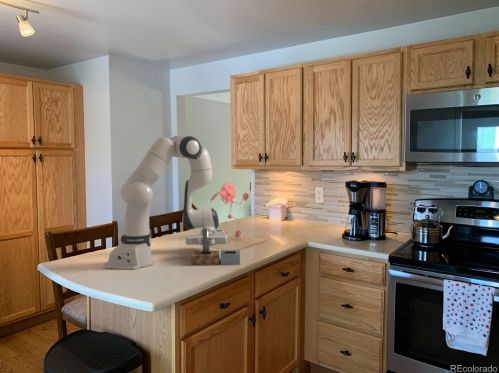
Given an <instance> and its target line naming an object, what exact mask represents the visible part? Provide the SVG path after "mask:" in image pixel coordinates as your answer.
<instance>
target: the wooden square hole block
mask: <svg viewBox="0 0 499 373" xmlns="http://www.w3.org/2000/svg"><path fill="white" fill-rule="evenodd" d="M209 252H210V254H203V250H193V253H192V266H217V265H218V266H219V264H220V250H209Z"/></svg>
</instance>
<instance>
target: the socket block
mask: <svg viewBox="0 0 499 373" xmlns="http://www.w3.org/2000/svg"><path fill="white" fill-rule="evenodd" d="M220 265H221V266H222V265H223V266H224V265H227V266H228V265H241V251H240V250H239V249H230V250H229V249H227V250H224V249H223V250H220Z"/></svg>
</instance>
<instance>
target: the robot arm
mask: <svg viewBox="0 0 499 373" xmlns="http://www.w3.org/2000/svg"><path fill="white" fill-rule="evenodd" d="M173 157H176V158H180V159H187V161H188V162H189V168H190V169H189V170H190V176H189V179H187V180H186V181H185V184H184V197H183V198H184V200H183V212H182V213H183V214H182V217H181V218H182V225H183V227H184V228H186V229H187V230H195V229H200V228H202V229H209V247H211V246H215V245H227V244H228V239H227V236H228V233H227V234H226V230H220V229H218V228H219V223H220V222H219V216H218V212H217V211H216V210H215V209H214V208H212V207H209V208H200V209H193V207H192V205H193V195H194V192H196V191H198V190H200V189H202V188H203V187H205V186H207V185H208V184H209V183H211V180H212V179H213V165H212V160H211V156H210V153H209V151H208V150H207V149H206V148H205V147H203V146H202V144H201V142H200V140H198V138H197V137H194V136H193V135H192V136H191V135H189V136H188V135H176V136H173V137H171V138H168V137H165V136H161V137H159V138H157V140H155V142H153V144H152V146H151V147H150V148H149V150H148V151H147V153H146V154H145V156H144V157H143V159H142V160H141V161H140V164H139V165H138V167H137V168H136V169H135V170H134V171H133V173H132V174H131V175H130V176H129V177H128V179H127V180H126V181H125V183H124V184H123V185H122V186H121V188H120V196H121V198H122V199H123V201H124V202H126V209H125V217H124V234H122V235H121V237H120V239H119V240H120V242H121V243H120V244H118V245H117V246H116V247H115V248H113V249H112V250H111V252H110V253H109V256H108V260H107V261H106V262H104V264H103V268H104V269H111V268H112V269H116V270H117V269H118V270H136V269H140V268H143V267H144V268H146V267H149V266H151V265H153V264H154V263H155V261H154V257H153V254H152V247H151V246H152V245H151V244H152V237H151V233H150V214H151V207H152V206H151V205H152V200H153V197H154V193H153V190H152V188H151V187H153V185H154V184H155V183H156V182H157V181H158V180H159V179H160V178H161V177H162V174H163V173H164V172H165V170H166V168H167V167H168V165H169V163H170V161H171V160H172V159H173ZM202 229H201V231H200V233H199V234H189V235H187V236H186V237H185V244H186V245H187V246H188V245H189V246H191V245H193V246H196V245H197V246H198V245H199V246H203V242H202Z"/></svg>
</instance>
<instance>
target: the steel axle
mask: <svg viewBox="0 0 499 373" xmlns="http://www.w3.org/2000/svg"><path fill="white" fill-rule="evenodd" d="M201 230H202V242H203V245H202V251H203V254H210V252H209V251H210V246H209V229H203V228H202V229H201Z"/></svg>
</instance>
